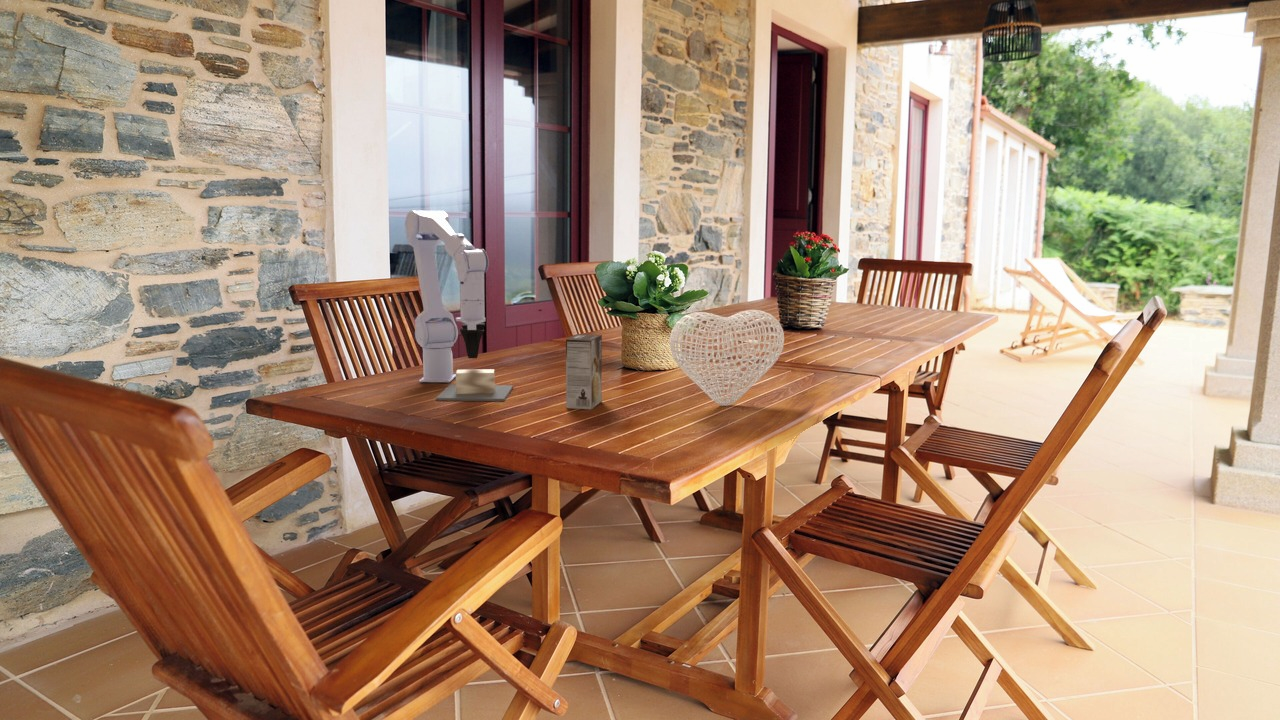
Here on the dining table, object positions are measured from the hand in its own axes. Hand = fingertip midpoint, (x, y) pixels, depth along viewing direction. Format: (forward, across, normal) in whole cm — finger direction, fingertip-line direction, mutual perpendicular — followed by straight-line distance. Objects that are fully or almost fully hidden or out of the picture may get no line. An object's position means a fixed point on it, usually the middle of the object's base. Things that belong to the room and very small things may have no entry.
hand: (473, 355), depth 220 cm
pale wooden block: (+9, +2, 0) cm, 9 cm away
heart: (+9, +20, +58) cm, 63 cm away
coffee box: (+9, +16, +26) cm, 32 cm away
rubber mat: (+9, +2, +1) cm, 9 cm away
